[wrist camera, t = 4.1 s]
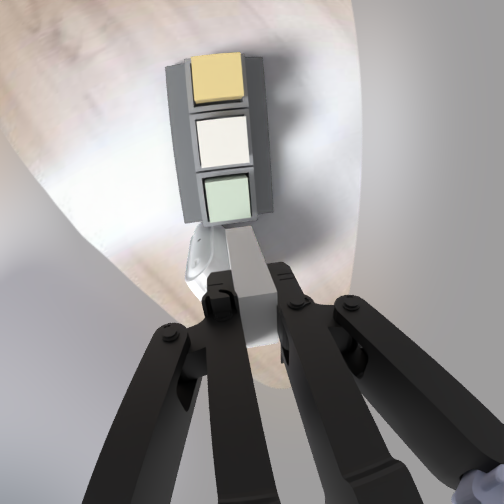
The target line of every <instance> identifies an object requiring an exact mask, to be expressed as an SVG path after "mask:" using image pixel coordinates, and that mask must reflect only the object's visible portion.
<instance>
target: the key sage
mask: <svg viewBox="0 0 504 504" xmlns="http://www.w3.org/2000/svg"><path fill="white" fill-rule="evenodd" d="M205 188H206V195H207V203H208V210H209V217H210V223H213V222H220V221H228V220H235V219H243V218H251V213H250V201H249V189H248V178H247V176H246V175H245V173H238V174H230V175H221V176H213V177H206V178H205Z"/></svg>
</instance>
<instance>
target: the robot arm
mask: <svg viewBox="0 0 504 504" xmlns="http://www.w3.org/2000/svg"><path fill="white" fill-rule="evenodd" d="M225 231H226V239H227V247H228V255H229V262H230V270H225V271H218V272H211V273H210V275H209V276H208V278H207V292H206V293H205V294H204V295H203V296H202V300H201V302H202V306H203V311H204V315H205V318H204V320H203V321H201V322H200V323H199V324H197V325H195V326H192V327H189V328H186V327H185V326H183V325H182V324H179V323H168V324H165V325H163V326H161V327H160V328H158V329H157V330H156V332H155V333H154V335H153V337H152V339H151V341H150V343H149V345H148V347H147V349H146V351H145V353H144V355H143V357H142V359H141V361H140V363H139V366H138V368H137V370H136V372H135V374H134V376H133V378H132V381H131V383H130V385H129V387H128V389H127V392H126V394H125V396H124V398H123V400H122V403H121V405H120V407H119V409H118V412H117V414H116V416H115V419H114V421H113V424H112V426H111V428H110V431H109V433H108V435H107V438H106V440H105V443H104V445H103V448H102V450H101V453H100V455H99V458H98V460H97V463H96V466H95V468H94V471H93V473H92V476H91V479H90V482H89V485H88V487H87V490H86V493H85V496H84V499H83V501H82V504H170V502H171V497H172V493H173V489H174V485H175V481H176V477H177V472H178V469H179V465H180V461H181V457H182V453H183V449H184V445H185V441H186V438H187V434H188V430H189V426H190V422H191V418H192V415H193V411H194V407H195V403H196V399H197V395H198V392H199V388H200V384H201V381H202V376H204V375H207V378H208V396H209V411H210V424H211V436H212V447H213V458H214V467H215V476H216V485H217V493H218V504H281V503H280V499H279V497H278V493H277V489H276V485H275V481H274V476H273V472H272V467H271V463H270V458H269V454H268V450H267V445H266V441H265V436H264V431H263V427H262V422H261V417H260V412H259V407H258V403H257V398H256V393H255V388H254V383H253V378H252V373H251V368H250V363H249V358H248V352H247V348H251V347H257V346H263V345H269V344H275V343H278V336H279V339H280V342H281V363H284V364H285V367H286V370H287V373H288V377H289V380H290V383H291V386H292V390H293V393H294V396H295V399H296V402H297V406H298V409H299V412H300V415H301V419H302V422H303V425H304V429H305V432H306V435H307V438H308V442H309V445H310V448H311V451H312V454H313V458H314V461H315V464H316V467H317V471H318V473H319V477H320V480H321V483H322V487H323V489H324V493H325V504H423V501H422V499H421V497H420V494H419V492H418V490H417V487H416V485H415V483H414V481H413V479H412V476H411V474H410V472H409V470H408V469H407V467H406V465H405V464H404V463H402V462H401V461H399V460H396V459H394V458H393V457H392V456H391V455H390V453H389V451H388V449H387V447H386V444H385V442H384V440H383V438H382V436H381V434H380V432H379V429H378V427H377V425H376V423H375V421H374V419H373V417H372V415H371V413H370V411H369V409H368V406H367V405H366V402H365V401H364V398H363V396H364V397H365V398H366V399H367V400H368V401H369V402H370V404H371V405H372V406H373V407H374V408H375V409H376V410H377V412H378V413H379V414H380V415H381V416H382V417H383V419H384V420H385V421H386V422H387V423H388V424H389V425H390V426H391V428H392V429H393V430H394V431H395V432H396V433H397V434H398V436H399V437H400V438H401V439H402V440H403V441H404V442H405V444H406V445H407V446H408V447H409V448H410V449H411V450H412V452H413V453H414V454H415V455H416V456H417V457H418V458H419V459H420V461H421V462H422V463H423V464H424V465H425V466H426V467H427V468H428V470H429V471H430V472H431V473H432V474H433V475H434V476H435V477H436V478H437V479H438V480H440V481H441V482H442V483H444V484H445V485H446V486H448V487H450V488H452V489H454V490H456V491H455V493H454V494H453V496H452V503H453V504H504V424H502V423H501V422H500V421H499V420H498V419H497V418H496V417H495V416H494V415H493V414H492V413H491V412H490V411H489V410H488V409H487V408H486V407H485V406H484V405H483V404H482V403H481V402H480V401H479V400H478V399H476V397H474V396H473V395H472V394H471V393H470V392H469V391H468V390H467V389H466V388H465V387H464V386H463V385H462V384H461V383H459V382H458V381H457V380H456V379H455V378H454V377H453V376H452V375H450V374H449V373H448V372H447V371H446V370H445V369H444V368H443V367H442V366H441V365H440V364H438V363H437V362H436V361H435V360H434V359H433V358H432V357H431V356H429V355H428V354H427V353H426V352H425V351H423V350H422V349H421V348H420V347H419V346H418V345H417V344H416V343H415V342H413V341H412V340H411V339H410V338H409V337H408V336H406V335H405V334H404V333H403V332H402V331H401V330H399V329H398V328H397V327H396V326H395V325H394V324H392V323H391V322H390V321H389V320H388V319H386V318H385V317H384V316H383V315H382V314H380V313H379V312H378V311H377V310H376V309H374V308H373V307H372V306H371V305H370V304H368V303H367V302H366V301H365V300H363V299H361V298H360V297H358V296H354V295H344V296H341V297H339V298H337V299H336V301H335V303H334V305H321V304H316V303H314V301H313V300H312V299H311V298H310V297H309V296H307V295H304V293H303V291H302V290H301V288H300V286H299V284H298V282H297V280H296V278H295V276H294V274H293V272H292V270H291V268H290V267H289V266H288V265H287V264H285V263H284V262H277V263H270V264H266V262H265V259H264V257H263V254H262V252H261V249H260V247H259V244H258V241H257V239H256V236H255V234H254V231H253V229H252V226H245V227H237V228H229V229H225ZM361 393H362V394H363V396H362V394H361Z"/></svg>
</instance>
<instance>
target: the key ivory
mask: <svg viewBox="0 0 504 504" xmlns="http://www.w3.org/2000/svg"><path fill="white" fill-rule="evenodd" d="M197 130H198V140H199V148H200V157H201V165H202V168H207V167H215V166H223V165H231V164H241V163H250V162H249V149H248V137H247V125H246V116H243V117H231V118H221V119H213V120H205V121H197Z"/></svg>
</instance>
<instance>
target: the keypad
mask: <svg viewBox="0 0 504 504" xmlns="http://www.w3.org/2000/svg"><path fill="white" fill-rule="evenodd" d="M184 62H185V63H184V64H178V65H172V66H167V67H165V71H166V84H167V96H168V106H169V116H170V125H171V134H172V142H173V150H174V157H175V165H176V172H177V179H178V185H179V192H180V198H181V204H182V210H183V216H184V222H185V223H192V222H199V221H203V227H209V226H217V225H224V224H232V223H240V222H248V221H256V220H258V219H257V214H262V213H270V212H273V198H272V180H271V163H270V148H269V133H268V119H267V106H266V93H265V81H264V69H263V58H262V57H245V56H244V54H241V65H242V77H243V89H244V96H243V97H242V98H241V99H234V100H223V101H214V102H205V103H198V104H196V102H195V100H194V89H193V77H192V64H191V59H184ZM243 116H246V125H247V137H248V149H249V162H250V163H241V164H231V165H223V166H215V167H207V168H202V165H201V157H200V148H199V140H198V130H197V121H205V120H213V119H221V118H231V117H243ZM238 173H245V175H246V176H247V178H248V189H249V201H250V213H251V218H243V219H235V220H228V221H220V222H213V223H210V217H209V210H208V203H207V195H206V188H205V178H206V177H213V176H221V175H230V174H238Z"/></svg>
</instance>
